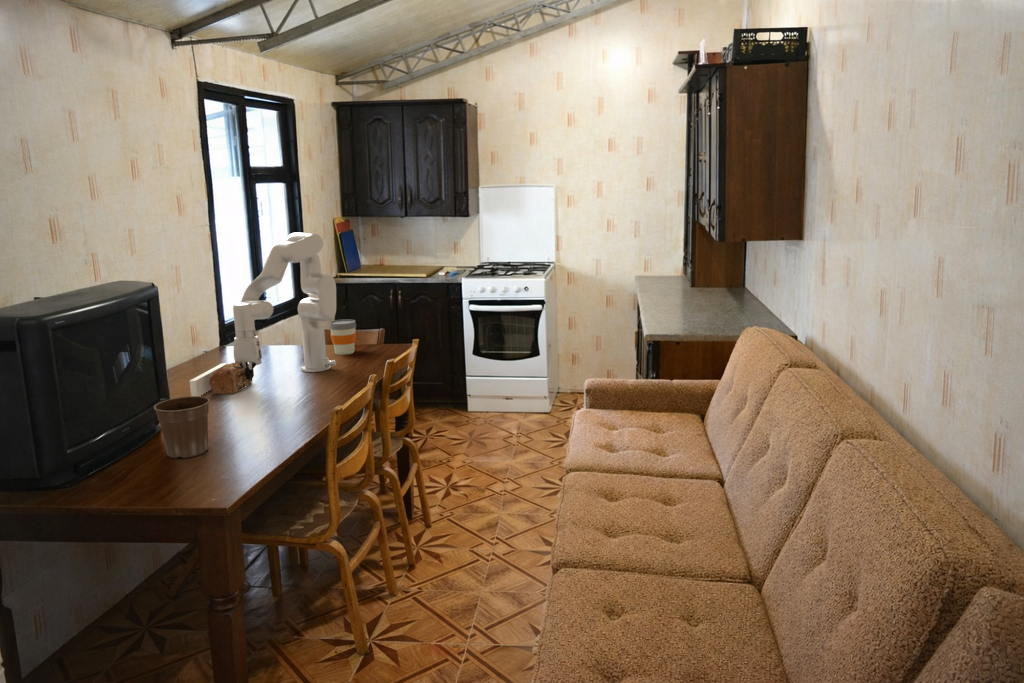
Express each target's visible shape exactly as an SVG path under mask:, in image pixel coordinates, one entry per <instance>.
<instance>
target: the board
mask: <svg viewBox="0 0 1024 683" xmlns="http://www.w3.org/2000/svg"><path fill="white" fill-rule="evenodd" d="M226 364H229V363H226V362H225V363H223V362H221V363H220V364H218V365H216V366H215V367H212V368H211V369H209V370H206V371H205V372H203V373H201V374H199V375H198V376H195V377H194V378H191V379H190V380H189V388H190V396H201V395H202V396H204V395H205V394H207V393H208V391H209V390H210V391H212V390H211V386H210V376H211V375H212V374H213V373H214V371H216V370H218V369H219V368H221V367H223V366H224V365H226ZM210 391H209V392H210ZM206 392H207V393H206ZM204 393H205V394H204ZM203 394H204V395H203ZM202 396H201V397H202Z"/></svg>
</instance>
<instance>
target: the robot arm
mask: <svg viewBox="0 0 1024 683" xmlns="http://www.w3.org/2000/svg"><path fill="white" fill-rule="evenodd" d="M323 247H324V239H323V238H322V236H321V235H320V234H318V233H313V232H292V233H290V234H289V235H288V236H287V238H286V241H277V242H275V243H273V245H271V248H270V250H269V252H268V255H267V258H266V260H265V263H264V265H263V268H262V271H261V273H260V274H259V275H258V276H257V277H256V278H255V279H254V280H253V281H252V282H251V283H250V284H249V285H248V286H247V288H245V291H244V293H243V296H242V298H241V301H240V302H238V303H236V304H234V305H233V307H232V310H233V321H234V332H235V337H234V340H233V359H234V363H235V364H236V365H240V366H241V367H242V368H243V369H244V370H245V377H246V379H252V380H253V378H254V376H255V372H254V368H255V367H256V366H259V365H262V364H263V362H262V359H263V354H262V352H263V351H262V346H261V343H260V342H261V341H260V338H259V336H257V335H259V334H260V333H259V330H256V327H255V325H256V323H255V321H256V320H266V319H269V318H270V317H271V316H272V315H273V313H274V306H273V304H272V303H271V302H269V301H268V300H263V299H261V300H260V297H261V296H262V294H264V293H265V292H266V291H267V290H268V289H270V288H272V287H274V286H277V285H278V284H280V283H282V280H283V278H284V275H285V272H286V269H287V268H288V265H289V263H293V264H297V263H299V266H300V288H301V291H302V292H303V293H304V294H306V295H312V296H317V297H305V298H303V299H301V300H300V301H299V302H298V305H297V313H298V318H299V321H300V326H301V334H302V347H303V348H302V349H303V358H304V365H302V366H301V367H300V368H301V371H302V372H306V373H317V372H324V371H328V370H330V369H331V367H332V366H336V365H337V361H336V360H335V359H332V360H330V359H329V356H328V357H327V349H326V334H325V332H326V331H325V327H324V324H323V322H331V321H333V320H334V318H335V316H336V313H337V284H336V280H335V278H334V277H333V276H332V275H330V274H328V273H322V266H321V259H320V256H319V253H320V252H321V251H322V249H323ZM248 364H249V366H248Z"/></svg>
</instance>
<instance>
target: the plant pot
mask: <svg viewBox="0 0 1024 683" xmlns="http://www.w3.org/2000/svg"><path fill="white" fill-rule="evenodd" d="M210 400H211V399H210V398H208V397H207V396H191V395H190V396H181V397H174V398H171V399H166V400H163V401H160V402H158V403H156V404H154V406H153V410H154V411H155V413H156V417H157V420H158V422H159V424H160V425H159V426H160V429H161V432H162V437H163V441H164V445H165V450H166V455H167V457H169V458H172V459H178V458H182V459H188V458H193V457H194V458H195V457H197V456H200V455H203V454H205V453H206V451H208V450H209V425H208V424H209V422H208V417H209V416H208V414H209V410H210V408H209V407H210V406H209V403H210V402H211V401H210Z"/></svg>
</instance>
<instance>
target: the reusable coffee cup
mask: <svg viewBox="0 0 1024 683" xmlns="http://www.w3.org/2000/svg"><path fill="white" fill-rule="evenodd" d="M356 328H357V324H356V320H355V319H349V318H347V319H344V318H343V319H336V320H334V319H333V320H330V321H329V330H330V340H331V343H332V344H333V349H334V353H335V354H336V355H339V356H340V355H341V356H342V355H352V354H354V352H355V345H356V344H355V343H356V340H357V332H356Z"/></svg>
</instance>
